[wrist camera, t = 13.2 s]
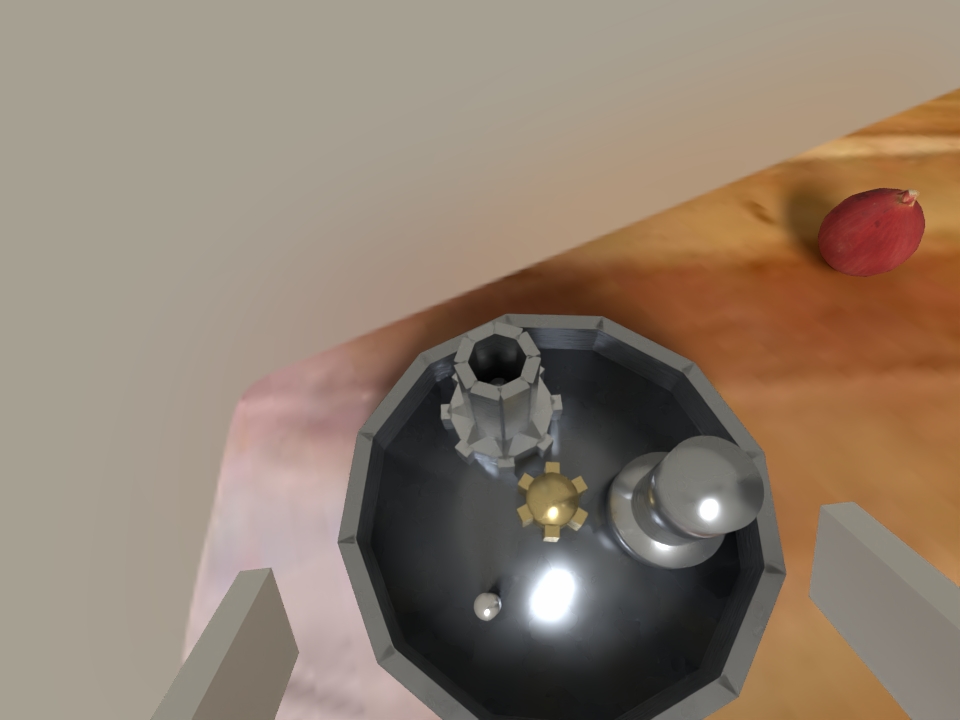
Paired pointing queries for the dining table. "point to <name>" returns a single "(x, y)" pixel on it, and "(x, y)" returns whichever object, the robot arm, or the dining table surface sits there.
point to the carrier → (566, 540)
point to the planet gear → (500, 398)
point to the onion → (872, 231)
